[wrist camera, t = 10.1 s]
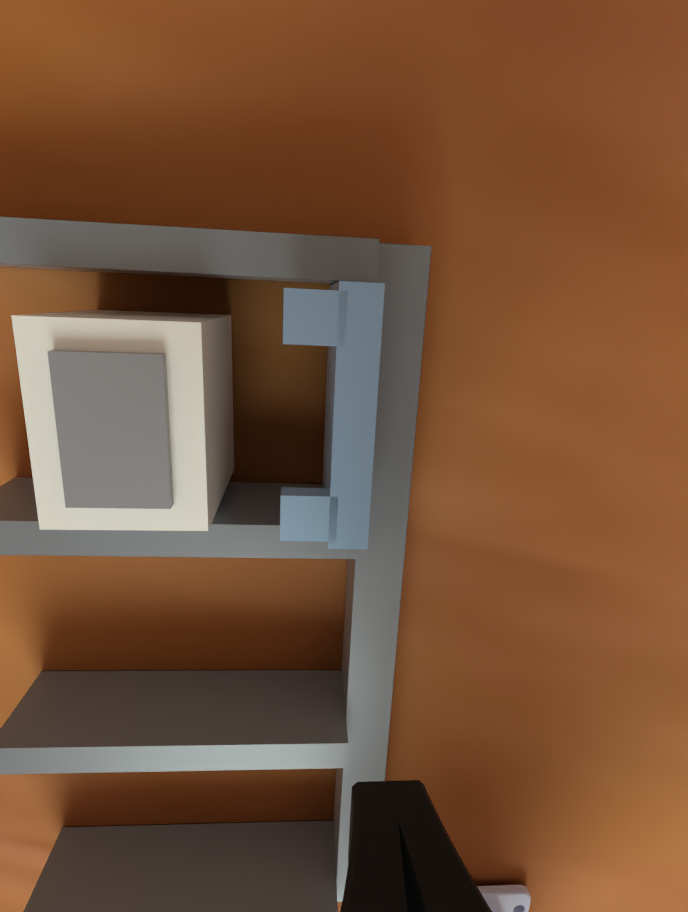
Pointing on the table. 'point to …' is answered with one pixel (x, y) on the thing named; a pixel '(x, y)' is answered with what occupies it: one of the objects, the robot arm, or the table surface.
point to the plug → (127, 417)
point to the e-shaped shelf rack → (241, 536)
